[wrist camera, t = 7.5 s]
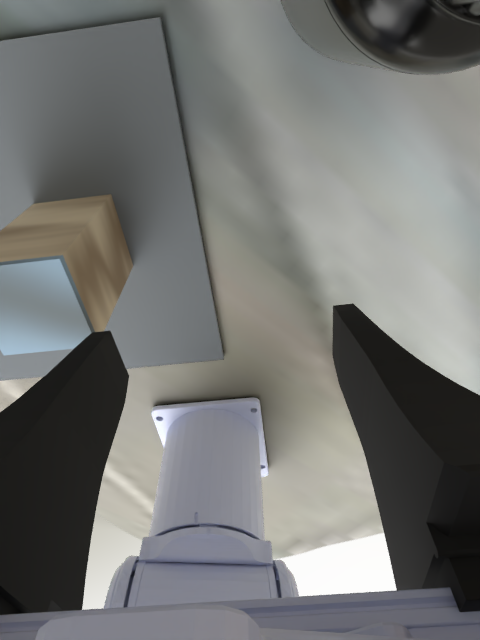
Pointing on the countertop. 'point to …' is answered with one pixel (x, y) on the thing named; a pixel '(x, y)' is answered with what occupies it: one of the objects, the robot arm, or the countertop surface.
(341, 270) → the countertop surface
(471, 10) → the supplement bottle
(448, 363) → the countertop surface
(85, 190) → the rubber mat
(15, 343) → the beech block
